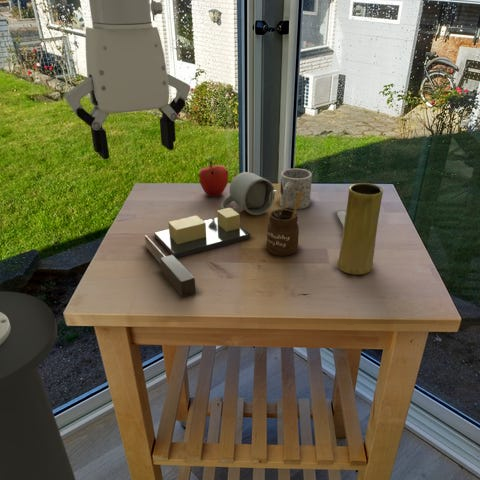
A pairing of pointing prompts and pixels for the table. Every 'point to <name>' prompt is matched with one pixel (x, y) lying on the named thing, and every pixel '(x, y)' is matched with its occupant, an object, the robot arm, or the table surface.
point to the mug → (295, 187)
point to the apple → (213, 178)
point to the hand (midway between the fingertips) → (136, 152)
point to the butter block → (187, 229)
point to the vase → (360, 228)
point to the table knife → (173, 270)
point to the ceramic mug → (250, 194)
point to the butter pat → (228, 219)
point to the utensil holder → (283, 229)
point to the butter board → (202, 239)
